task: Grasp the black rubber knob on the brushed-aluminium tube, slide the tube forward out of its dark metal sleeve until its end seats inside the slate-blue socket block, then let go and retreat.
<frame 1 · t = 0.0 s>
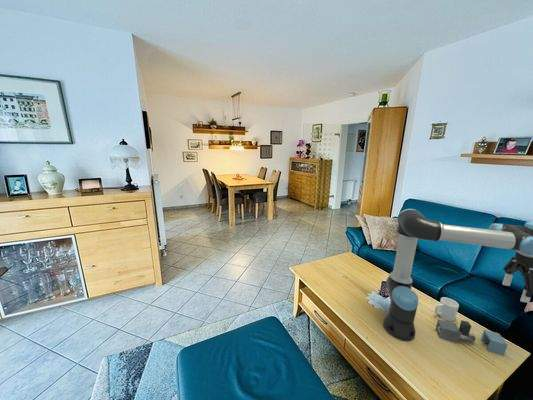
hand: (514, 293, 109), 28 cm above the table, fingers open, 13 cm apart
sleeve: (446, 335, 117), on the table
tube: (457, 328, 115), point 6 cm above the table, slide at 0.0 cm
cup: (442, 316, 131), on the table
socket: (491, 347, 111), on the table
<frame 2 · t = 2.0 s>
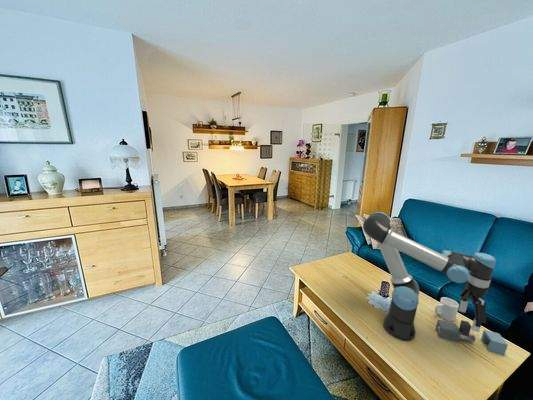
hand: (468, 320, 112), 12 cm above the table, fingers open, 13 cm apart
nothing on the table moved.
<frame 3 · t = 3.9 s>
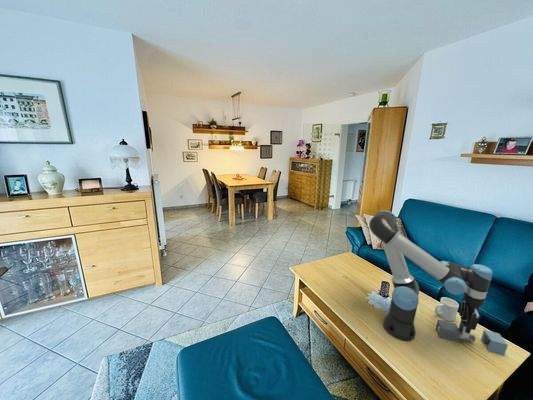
hand: (463, 333, 114), 4 cm above the table, fingers closed on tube, 3 cm apart
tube: (457, 328, 115), point 6 cm above the table, slide at 0.0 cm, touching gripper
everything else where it was.
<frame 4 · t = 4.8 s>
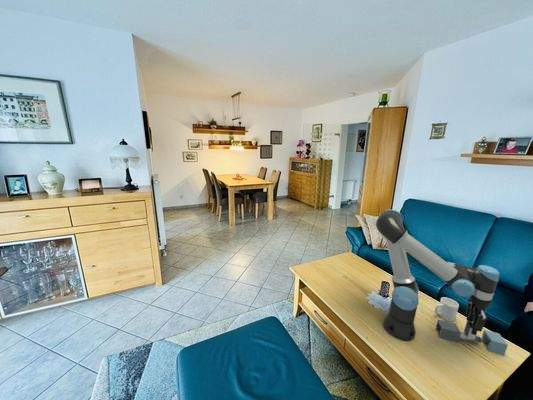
hand: (469, 335, 113), 4 cm above the table, fingers closed on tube, 3 cm apart
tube: (462, 330, 114), point 6 cm above the table, slide at 2.5 cm, touching gripper
everything else where it was.
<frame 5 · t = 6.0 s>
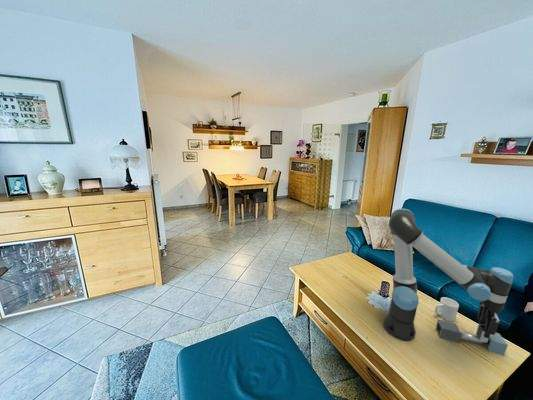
hand: (481, 338, 112), 4 cm above the table, fingers closed on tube, 3 cm apart
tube: (474, 333, 112), point 6 cm above the table, slide at 7.5 cm, touching gripper
everything else where it was.
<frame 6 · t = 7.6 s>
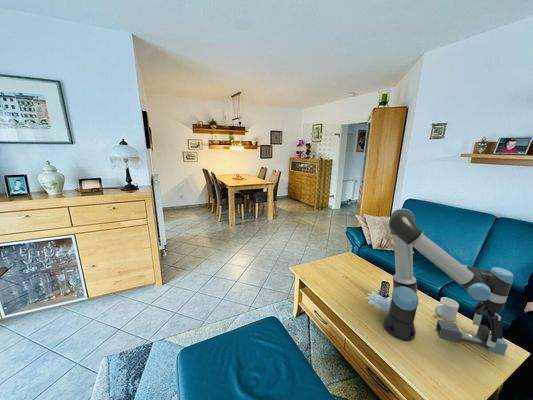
hand: (482, 334, 111), 6 cm above the table, fingers open, 13 cm apart
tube: (474, 333, 112), point 6 cm above the table, slide at 7.5 cm
everything else where it was.
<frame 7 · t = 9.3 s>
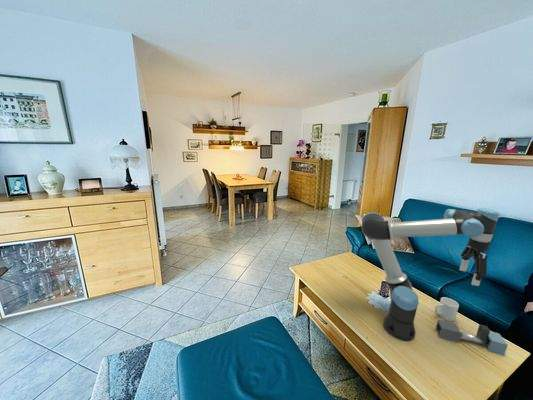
hand: (468, 277, 113), 33 cm above the table, fingers open, 13 cm apart
nothing on the table moved.
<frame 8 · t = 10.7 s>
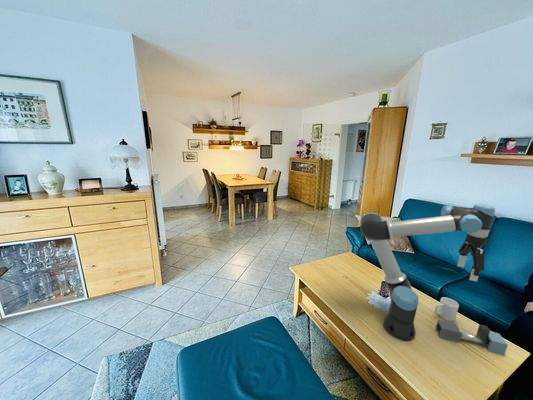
hand: (466, 273, 114), 35 cm above the table, fingers open, 13 cm apart
nothing on the table moved.
at the end: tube slide at 7.5 cm; the gripper is holding nothing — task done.
